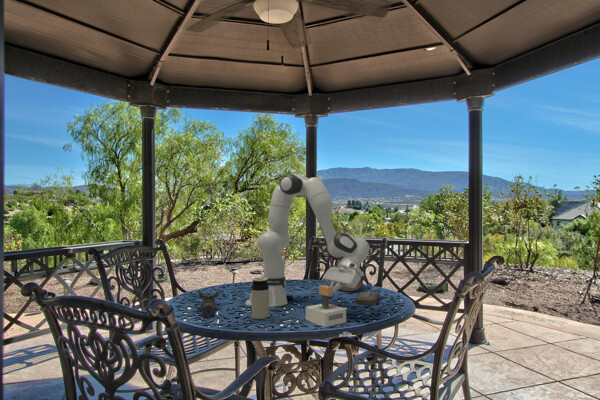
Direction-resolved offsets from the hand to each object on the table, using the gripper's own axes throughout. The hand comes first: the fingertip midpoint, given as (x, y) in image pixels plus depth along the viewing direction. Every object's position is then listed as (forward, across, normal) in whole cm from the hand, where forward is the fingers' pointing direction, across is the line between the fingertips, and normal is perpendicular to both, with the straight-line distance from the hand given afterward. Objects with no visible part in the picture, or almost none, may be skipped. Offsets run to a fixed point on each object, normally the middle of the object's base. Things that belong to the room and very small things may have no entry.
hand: (331, 291), depth 181 cm
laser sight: (+37, -48, -18) cm, 64 cm away
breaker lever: (+7, 0, +2) cm, 8 cm away
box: (-18, -16, +38) cm, 45 cm away
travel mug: (+26, -24, -8) cm, 36 cm away
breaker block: (+12, 0, +6) cm, 14 cm away
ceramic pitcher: (-25, -45, +44) cm, 68 cm away
